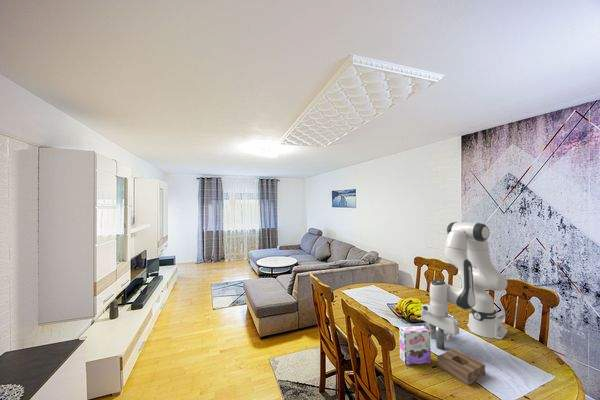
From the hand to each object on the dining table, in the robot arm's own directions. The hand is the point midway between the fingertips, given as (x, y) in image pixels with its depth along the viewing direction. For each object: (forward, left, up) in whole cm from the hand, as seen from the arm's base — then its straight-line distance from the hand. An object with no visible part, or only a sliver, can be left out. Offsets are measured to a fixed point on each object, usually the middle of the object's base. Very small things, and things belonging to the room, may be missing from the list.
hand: (439, 335), depth 131 cm
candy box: (+21, +1, -7) cm, 23 cm away
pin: (-1, 0, -7) cm, 7 cm away
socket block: (+8, +16, -7) cm, 19 cm away
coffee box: (-10, -10, -7) cm, 16 cm away
